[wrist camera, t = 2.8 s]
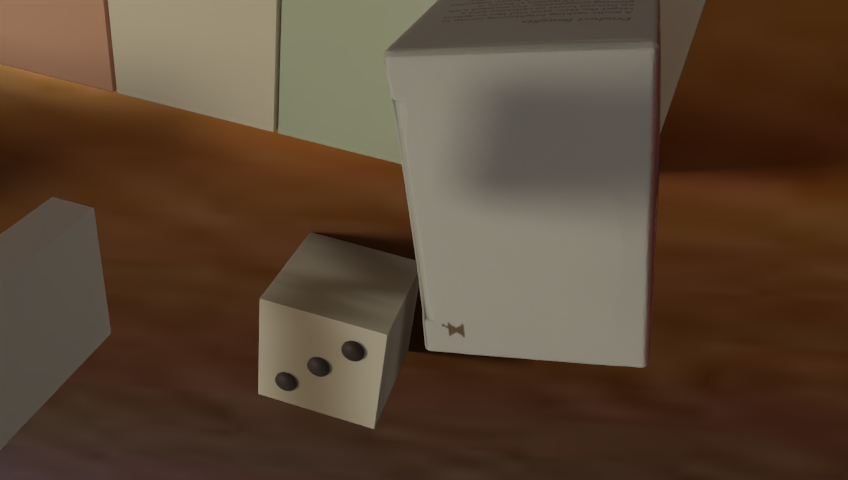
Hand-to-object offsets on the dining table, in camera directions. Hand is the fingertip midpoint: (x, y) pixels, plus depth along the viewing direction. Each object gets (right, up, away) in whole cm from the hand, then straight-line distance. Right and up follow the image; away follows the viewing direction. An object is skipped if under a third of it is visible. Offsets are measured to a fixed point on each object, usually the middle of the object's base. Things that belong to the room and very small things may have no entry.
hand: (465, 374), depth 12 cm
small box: (+4, +8, +13) cm, 16 cm away
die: (-3, 0, +21) cm, 21 cm away
